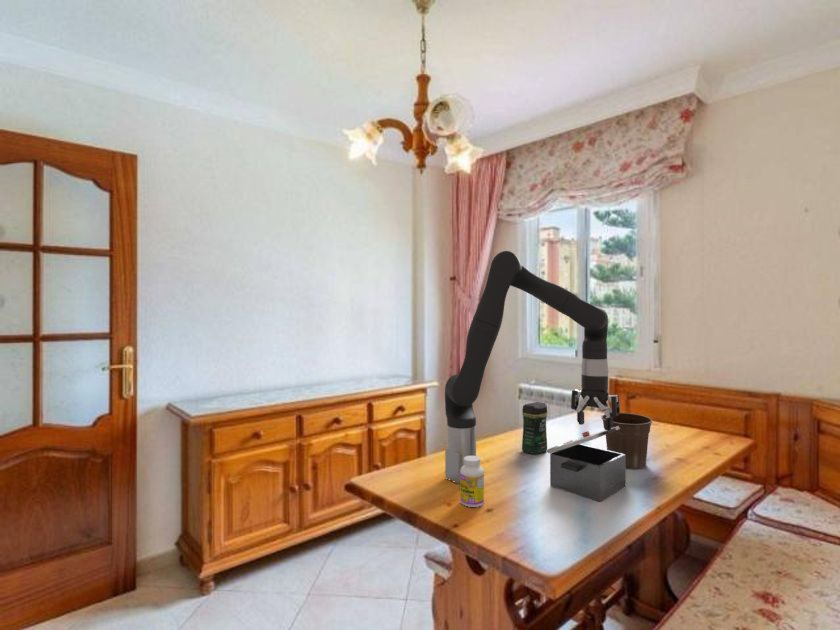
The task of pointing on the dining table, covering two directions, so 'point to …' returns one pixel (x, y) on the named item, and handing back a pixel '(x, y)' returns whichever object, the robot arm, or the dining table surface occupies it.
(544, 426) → the coffee jar
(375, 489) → the dining table surface
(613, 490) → the dark grey storage box
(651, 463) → the dining table surface
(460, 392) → the robot arm
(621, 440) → the plant pot
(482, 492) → the supplement bottle
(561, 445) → the grey box lid
